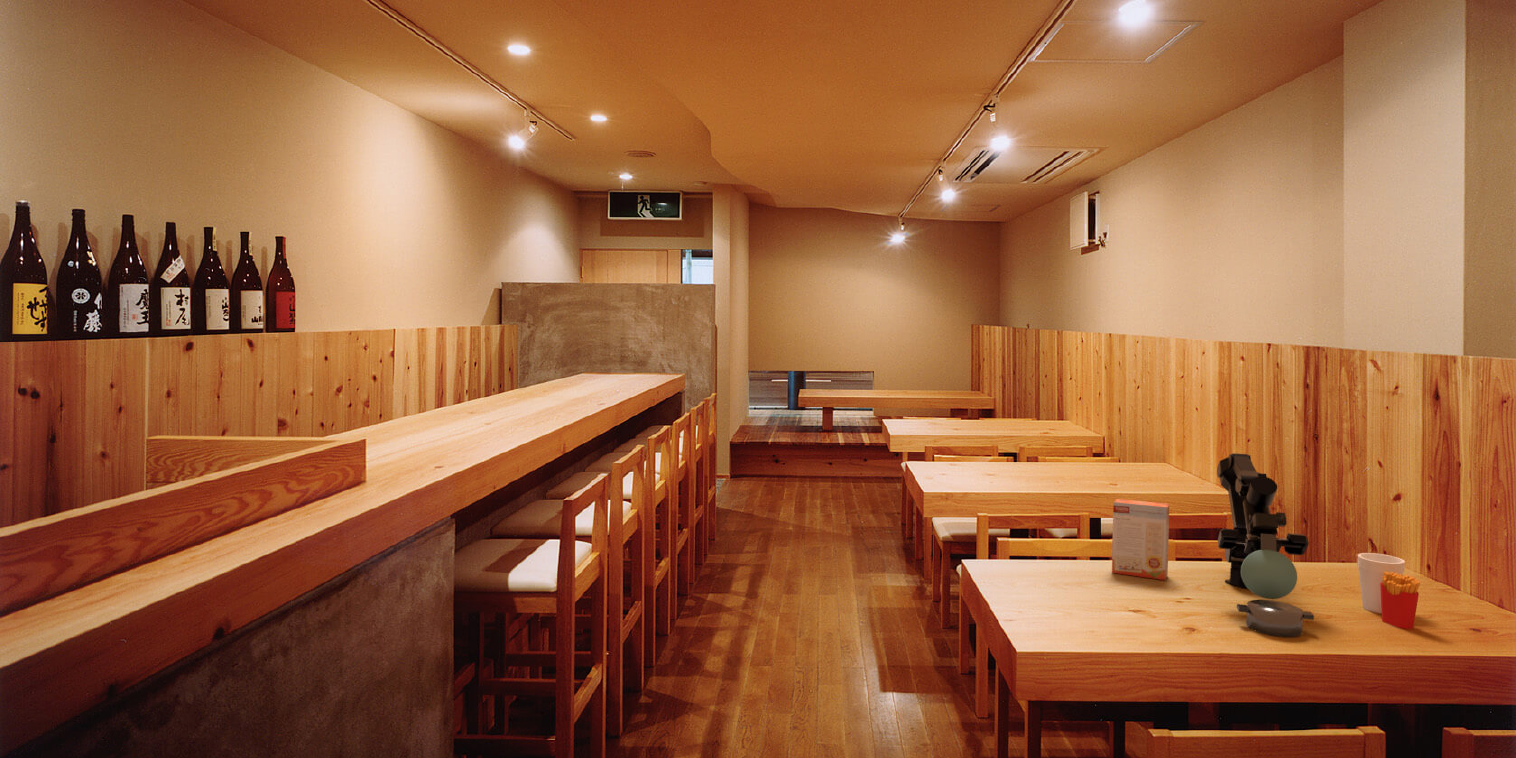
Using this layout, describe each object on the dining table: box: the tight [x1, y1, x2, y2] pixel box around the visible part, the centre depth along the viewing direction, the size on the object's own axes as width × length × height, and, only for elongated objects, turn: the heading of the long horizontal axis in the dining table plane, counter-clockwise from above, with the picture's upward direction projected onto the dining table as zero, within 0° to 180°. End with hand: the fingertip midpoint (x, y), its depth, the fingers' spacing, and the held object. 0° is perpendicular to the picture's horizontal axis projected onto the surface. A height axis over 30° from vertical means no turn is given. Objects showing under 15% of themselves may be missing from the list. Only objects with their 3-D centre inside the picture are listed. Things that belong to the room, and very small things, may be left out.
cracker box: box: [1111, 498, 1170, 581], centre depth 230 cm, size 14×6×21 cm, turn 58°
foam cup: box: [1356, 552, 1406, 614], centre depth 202 cm, size 10×9×13 cm
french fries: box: [1380, 572, 1421, 630], centre depth 192 cm, size 8×4×12 cm, turn 9°
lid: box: [1241, 534, 1298, 600], centre depth 196 cm, size 15×12×1 cm
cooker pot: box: [1236, 599, 1315, 638], centre depth 190 cm, size 12×15×5 cm
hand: (1266, 571), depth 197 cm, fingers closed
